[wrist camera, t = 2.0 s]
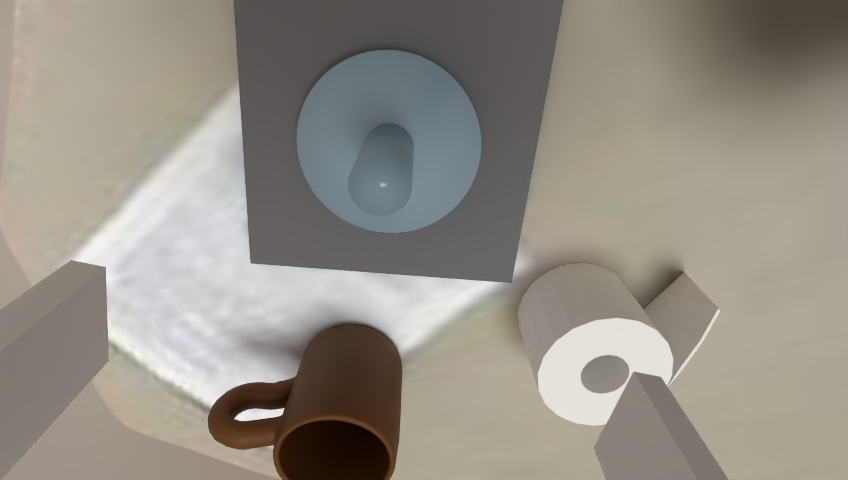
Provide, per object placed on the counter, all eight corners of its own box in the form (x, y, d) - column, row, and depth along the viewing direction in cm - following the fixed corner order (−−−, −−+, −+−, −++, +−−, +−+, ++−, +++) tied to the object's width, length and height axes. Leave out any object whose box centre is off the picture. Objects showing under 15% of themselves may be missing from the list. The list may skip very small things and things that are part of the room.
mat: (235, -36, 27) (231, -37, 26) (561, -4, 28) (564, -4, 27) (253, 259, 34) (250, 263, 34) (510, 278, 35) (511, 282, 35)
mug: (243, 383, 39) (192, 486, 30) (249, 301, 36) (195, 391, 27) (393, 406, 40) (385, 513, 31) (411, 329, 37) (408, 425, 28)
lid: (298, 40, 28) (254, 51, 21) (491, 57, 28) (514, 73, 21) (302, 220, 33) (267, 280, 25) (468, 232, 33) (481, 295, 26)
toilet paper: (685, 273, 35) (743, 330, 29) (573, 374, 39) (603, 444, 32) (604, 208, 33) (648, 253, 27) (494, 321, 37) (509, 384, 30)
